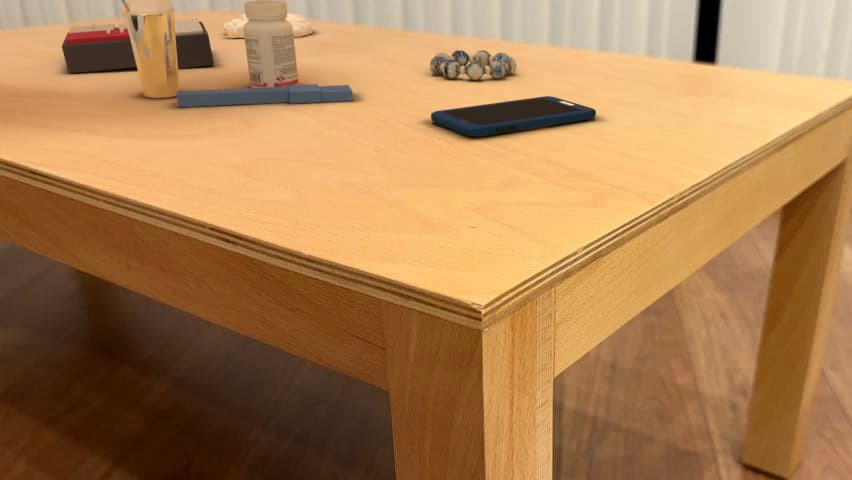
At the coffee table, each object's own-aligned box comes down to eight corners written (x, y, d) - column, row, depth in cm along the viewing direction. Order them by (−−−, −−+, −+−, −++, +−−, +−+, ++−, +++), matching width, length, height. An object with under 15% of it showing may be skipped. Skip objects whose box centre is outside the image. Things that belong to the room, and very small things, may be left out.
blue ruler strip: (177, 109, 79) (175, 96, 79) (179, 102, 82) (177, 89, 81) (353, 100, 84) (352, 88, 83) (349, 94, 86) (348, 82, 86)
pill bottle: (300, 83, 91) (292, -1, 88) (296, 92, 87) (288, 4, 83) (253, 83, 90) (243, -1, 87) (247, 93, 86) (237, 4, 82)
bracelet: (532, 72, 99) (532, 55, 98) (480, 85, 92) (480, 66, 91) (465, 63, 104) (465, 46, 103) (411, 74, 97) (411, 56, 96)
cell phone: (599, 117, 79) (599, 109, 79) (471, 138, 71) (471, 129, 71) (551, 102, 84) (551, 95, 84) (427, 120, 77) (427, 112, 76)
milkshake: (119, 98, 83) (99, -12, 78) (163, 88, 87) (146, -17, 83) (154, 103, 81) (135, -9, 77) (197, 93, 85) (181, -14, 81)
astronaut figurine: (223, 31, 123) (220, 9, 122) (308, 28, 127) (306, 7, 126) (226, 40, 116) (223, 16, 115) (316, 37, 120) (314, 14, 119)
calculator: (65, 24, 100) (200, 14, 105) (75, 62, 102) (207, 50, 107) (58, 38, 91) (207, 26, 96) (69, 79, 93) (214, 65, 98)
